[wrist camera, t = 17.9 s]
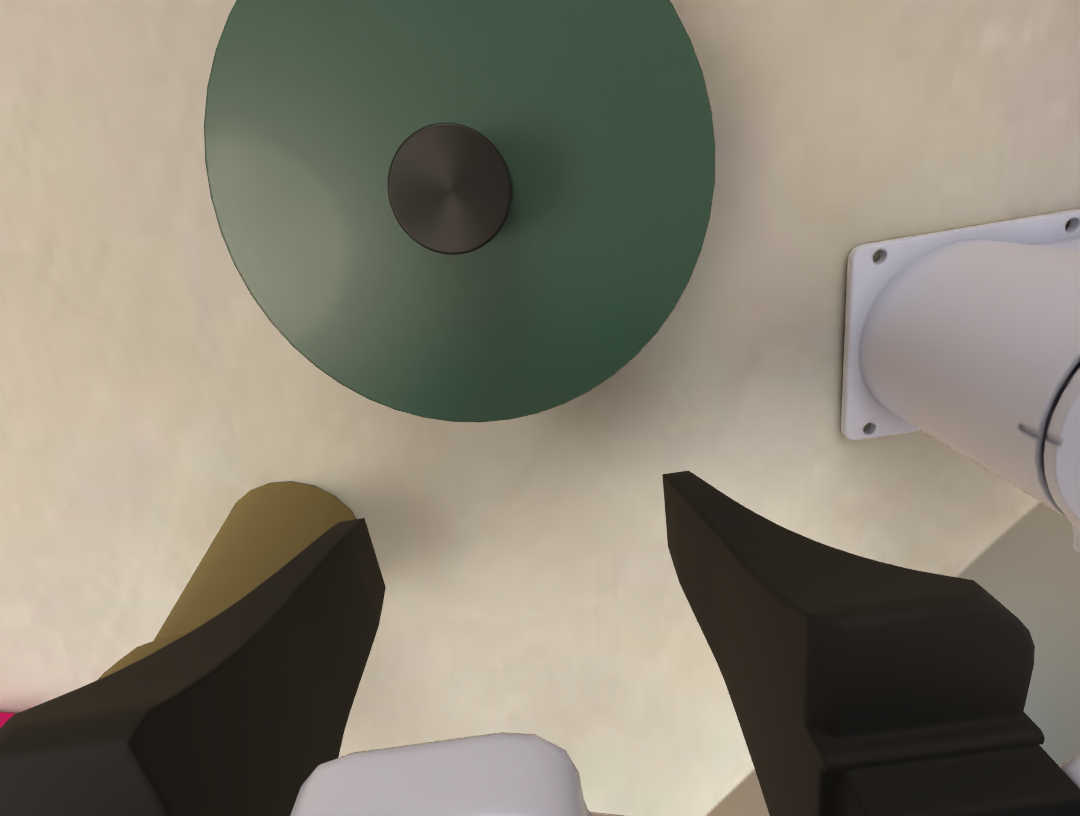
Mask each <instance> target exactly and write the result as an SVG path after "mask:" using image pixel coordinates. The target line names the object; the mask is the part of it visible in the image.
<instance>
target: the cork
mask: <svg viewBox="0 0 1080 816" xmlns="http://www.w3.org/2000/svg"><path fill="white" fill-rule="evenodd" d="M355 519H356V518H355V516H354V515H353V513H352V511H351V510H350V509H349V508H348V507H346V506H345V505H344V504H343V503H342V502H341V501H340V500H339V499H337V498H336V497H335V496H333V495H331V494H329V493H327V492H325V491H323V490H321V489H319V488H317V487H315V486H311V485H306V484H301V483H296V482H280V483H269V484H266V485H264V486H261V487H259V488H256V489H254V490H251V491H249V492H248V493H247V494H246V495H245V496H244V497H243V498H241V499H240V500H239V501H238V502H237V503H236V504H235V505H234V507H233V509H232V510H231V512H230V514H229V515H228V517H227V519H226V521H225V522H224V524H223V526H222V527H221V529H220V531H219V532H218V534H217V536H216V537H215V539H214V541H213V542H212V544H211V546H210V547H209V549H208V551H207V552H206V554H205V556H204V557H203V559H202V561H201V562H200V564H199V566H198V567H197V569H196V571H195V572H194V574H193V576H192V577H191V579H190V581H189V582H188V584H187V586H186V587H185V589H184V591H183V593H182V594H181V596H180V598H179V599H178V601H177V603H176V604H175V606H174V608H173V609H172V611H171V613H170V614H169V616H168V618H167V619H166V621H165V623H164V624H163V626H162V628H161V629H160V631H159V633H158V634H157V636H156V638H155V639H154V641H153V642H150V643H147V644H145V645H142V646H139V647H137V648H136V649H134V650H133V651H131V652H130V653H129V654H127V655H126V656H124V657H123V658H122V659H120V660H119V661H118V662H117V663H116V664H114V665H113V666H112V667H111V668H110V669H108V670H107V671H106V672H105V673H104V674H103V675H102V676H101V677H100V678H99V679H101V678H103V677H105V676H108V675H110V674H112V673H114V672H116V671H118V670H120V669H122V668H124V667H126V666H128V665H130V664H132V663H134V662H136V661H138V660H140V659H142V658H144V657H146V656H148V655H150V654H152V653H154V652H156V651H157V650H159V649H161V648H163V647H164V646H166V645H168V644H170V643H172V642H173V641H175V640H177V639H179V638H180V637H182V636H184V635H186V634H188V633H189V632H191V631H193V630H194V629H196V628H198V627H199V626H201V625H203V624H204V623H206V622H207V621H209V620H210V619H212V618H213V617H215V616H217V615H218V614H220V613H221V612H223V611H224V610H226V609H227V608H229V607H230V606H232V605H233V604H235V603H236V602H237V601H239V600H240V599H242V598H243V597H244V596H246V595H247V594H248V593H250V592H251V591H252V590H253V589H255V588H256V587H257V586H259V585H260V584H261V583H263V582H264V581H265V580H267V579H268V578H269V577H271V576H272V575H273V574H274V573H276V572H277V571H278V570H280V569H281V568H282V567H283V566H284V565H286V564H287V563H288V562H289V561H291V560H292V559H293V558H294V557H295V556H297V555H298V554H299V553H300V552H301V551H303V550H304V549H305V548H306V547H307V546H309V545H310V544H311V543H312V542H314V541H315V540H316V539H317V538H318V537H320V536H321V535H322V534H323V533H325V532H326V531H327V530H329V529H330V528H331V527H333V526H334V525H336V524H337V523H339V522H342V521H348V520H355ZM99 679H98V680H99Z"/></svg>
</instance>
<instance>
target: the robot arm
mask: <svg viewBox="0 0 1080 816" xmlns="http://www.w3.org/2000/svg"><path fill="white" fill-rule="evenodd" d="M1069 220H1070V225H1069V227H1068V228H1067V229H1066V230H1065V225H1066V223H1067V222H1068V221H1069ZM877 250H880V253H881V256H880V258H879V259H878V261H876V262H873V255H874V253H875V252H876V251H877ZM868 423H870V427H869V428H868V429H867V430H864V431H863V428H864V426H865V425H866V424H868ZM917 431H924V432H926V433H927V434H929V435H931V436H932V437H934V438H936V439H937V440H939V441H941V442H942V443H944V444H945V445H947V446H949V447H950V448H952V449H954V450H955V451H957V452H959V453H960V454H962V455H964V456H965V457H967V458H969V459H970V460H972V461H974V462H975V463H977V464H979V465H980V466H982V467H984V468H985V469H987V470H988V471H990V472H992V473H993V474H995V475H997V476H998V477H1000V478H1002V479H1003V480H1005V481H1007V482H1008V483H1010V484H1012V485H1013V486H1015V487H1017V488H1018V489H1020V490H1022V491H1023V492H1025V493H1027V494H1028V495H1030V496H1032V497H1033V498H1035V499H1036V500H1038V501H1040V502H1041V503H1043V504H1045V505H1046V506H1048V507H1050V508H1051V509H1053V510H1055V511H1056V512H1058V513H1060V514H1061V515H1063V516H1065V517H1066V518H1068V519H1069V521H1070V523H1071V525H1072V528H1073V534H1074V538H1073V545H1072V548H1073V549H1074V550H1075V551H1077V552H1078V553H1080V208H1079V209H1073V210H1067V211H1061V212H1054V213H1048V214H1042V215H1036V216H1030V217H1024V218H1018V219H1012V220H1006V221H1000V222H994V223H988V224H981V225H975V226H969V227H963V228H957V229H951V230H945V231H939V232H933V233H927V234H921V235H915V236H908V237H902V238H896V239H890V240H884V241H878V242H872V243H866V244H861V245H858V246H856V247H855V248H854V249H852V251H851V252H850V254H849V256H848V264H847V289H846V314H845V338H844V363H843V388H842V413H841V433H842V434H843V436H844V437H846V438H847V439H849V440H851V441H859V440H866V439H872V438H878V437H885V436H891V435H898V434H904V433H911V432H917ZM663 487H664V499H665V512H666V525H667V537H668V548H669V551H670V554H671V557H672V561H673V564H674V567H675V570H676V573H677V576H678V579H679V582H680V584H681V587H682V589H683V591H684V593H685V595H686V598H687V600H688V602H689V604H690V606H691V608H692V610H693V613H694V615H695V617H696V619H697V621H698V623H699V625H700V627H701V629H702V631H703V634H704V636H705V638H706V640H707V642H708V644H709V646H710V648H711V650H712V653H713V655H714V657H715V659H716V661H717V663H718V666H719V668H720V671H721V673H722V675H723V678H724V680H725V683H726V686H727V689H728V692H729V694H730V697H731V700H732V703H733V706H734V709H735V711H736V714H737V717H738V720H739V723H740V726H741V729H742V732H743V735H744V738H745V741H746V744H747V747H748V750H749V753H750V756H751V759H752V762H753V765H754V768H755V771H756V774H757V777H758V780H759V783H760V786H761V789H762V793H763V796H764V799H765V802H766V805H767V808H768V811H769V814H770V816H1080V755H1078V756H1074V757H1072V758H1071V759H1069V760H1068V761H1066V762H1065V763H1063V765H1062V766H1061V768H1060V767H1059V766H1058V765H1057V764H1056V763H1055V762H1054V760H1053V759H1052V758H1051V757H1050V756H1049V755H1048V754H1047V753H1046V752H1045V751H1044V750H1043V749H1042V748H1041V747H1040V746H1039V744H1043V742H1044V735H1043V733H1042V731H1041V730H1040V728H1039V727H1038V726H1037V725H1036V724H1035V723H1034V722H1033V721H1032V720H1031V719H1030V718H1029V717H1028V716H1027V715H1026V714H1025V713H1024V712H1023V710H1024V706H1025V701H1026V697H1027V693H1028V688H1029V684H1030V679H1031V675H1032V670H1033V665H1034V648H1035V646H1034V643H1033V640H1032V638H1031V635H1030V632H1029V630H1028V629H1027V628H1026V627H1025V626H1024V625H1023V623H1022V622H1021V621H1020V620H1019V619H1018V618H1017V617H1016V616H1015V615H1013V614H1012V613H1011V612H1010V611H1009V610H1008V609H1006V608H1005V607H1004V606H1003V605H1002V604H1001V603H1000V602H999V601H997V600H996V599H995V598H994V597H993V596H992V595H990V594H989V593H988V592H987V591H986V590H985V589H983V588H982V587H981V586H980V585H978V584H977V583H976V582H975V581H973V580H967V579H962V578H956V577H951V576H945V575H939V574H933V573H927V572H922V571H916V570H911V569H907V568H903V567H899V566H894V565H890V564H886V563H882V562H878V561H874V560H871V559H867V558H864V557H860V556H857V555H854V554H851V553H848V552H845V551H842V550H839V549H836V548H833V547H829V546H827V545H824V544H821V543H819V542H816V541H813V540H811V539H809V538H806V537H804V536H802V535H799V534H797V533H795V532H792V531H790V530H788V529H786V528H783V527H781V526H779V525H777V524H775V523H773V522H771V521H769V520H768V519H766V518H764V517H762V516H760V515H758V514H756V513H754V512H753V511H751V510H749V509H747V508H746V507H744V506H742V505H741V504H739V503H737V502H736V501H734V500H733V499H731V498H729V497H728V496H726V495H725V494H723V493H721V492H720V491H718V490H717V489H715V488H714V487H712V486H711V485H709V484H708V483H706V482H705V481H703V480H702V479H700V478H699V477H697V476H696V475H694V474H693V473H691V472H690V471H683V472H676V473H669V474H663ZM384 593H385V584H384V581H383V577H382V574H381V571H380V568H379V564H378V561H377V558H376V555H375V551H374V548H373V545H372V542H371V538H370V535H369V532H368V528H367V525H366V522H365V519H364V518H362V519H355V520H348V521H342V522H339V523H337V524H336V525H334V526H333V527H331V528H330V529H329V530H327V531H326V532H325V533H323V534H322V535H321V536H320V537H318V538H317V539H316V540H315V541H314V542H312V543H311V544H310V545H309V546H307V547H306V548H305V549H304V550H303V551H301V552H300V553H299V554H298V555H297V556H295V557H294V558H293V559H292V560H291V561H289V562H288V563H287V564H286V565H284V566H283V567H282V568H281V569H280V570H278V571H277V572H276V573H274V574H273V575H272V576H271V577H269V578H268V579H267V580H265V581H264V582H263V583H261V584H260V585H259V586H257V587H256V588H255V589H253V590H252V591H251V592H250V593H248V594H247V595H246V596H244V597H243V598H242V599H240V600H239V601H237V602H236V603H235V604H233V605H232V606H230V607H229V608H227V609H226V610H224V611H223V612H221V613H220V614H218V615H217V616H215V617H213V618H212V619H210V620H209V621H207V622H206V623H204V624H203V625H201V626H199V627H198V628H196V629H194V630H193V631H191V632H189V633H188V634H186V635H184V636H182V637H180V638H179V639H177V640H175V641H173V642H172V643H170V644H168V645H166V646H164V647H163V648H161V649H159V650H157V651H156V652H154V653H152V654H150V655H148V656H146V657H144V658H142V659H140V660H138V661H136V662H134V663H132V664H130V665H128V666H126V667H124V668H122V669H120V670H118V671H116V672H114V673H112V674H110V675H108V676H105V677H103V678H101V679H99V680H97V681H95V682H93V683H90V684H88V685H86V686H84V687H81V688H79V689H77V690H74V691H72V692H69V693H67V694H64V695H62V696H59V697H57V698H55V699H52V700H50V701H47V702H45V703H42V704H40V705H37V706H35V707H33V708H30V709H28V710H25V711H22V712H20V713H17V714H14V715H13V716H12V717H10V718H9V719H8V720H7V721H6V723H5V724H4V725H3V726H2V727H1V728H0V816H623V815H614V814H605V813H595V812H589V810H588V809H587V806H586V804H585V801H584V799H583V793H582V787H581V782H580V776H579V772H578V770H577V769H576V767H575V765H574V764H573V762H572V760H571V759H570V757H569V755H568V754H567V752H566V750H564V749H562V748H560V747H558V746H556V745H554V744H552V743H550V742H549V741H547V740H545V739H543V738H541V737H539V736H537V735H535V734H521V733H503V732H502V733H494V734H487V735H480V736H472V737H465V738H457V739H450V740H443V741H435V742H428V743H421V744H413V745H406V746H398V747H391V748H384V749H376V750H369V751H362V752H354V753H351V754H348V755H345V756H343V757H340V758H338V756H339V752H340V747H341V743H342V738H343V734H344V730H345V727H346V723H347V720H348V716H349V713H350V710H351V707H352V704H353V701H354V698H355V695H356V692H357V689H358V686H359V683H360V680H361V677H362V674H363V671H364V668H365V665H366V662H367V660H368V657H369V654H370V650H371V647H372V644H373V641H374V638H375V635H376V632H377V629H378V626H379V621H380V616H381V611H382V605H383V599H384Z"/></svg>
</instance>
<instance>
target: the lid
mask: <svg viewBox="0 0 1080 816" xmlns="http://www.w3.org/2000/svg"><path fill="white" fill-rule="evenodd" d="M204 135H205V162H206V168H207V174H208V181H209V187H210V193H211V199H212V202H213V206H214V209H215V213H216V216H217V220H218V223H219V227H220V230H221V233H222V236H223V238H224V240H225V243H226V245H227V248H228V250H229V253H230V255H231V257H232V260H233V262H234V265H235V266H236V268H237V270H238V272H239V274H240V275H241V277H242V279H243V281H244V282H245V284H246V286H247V288H248V290H249V291H250V293H251V295H252V296H253V298H254V299H255V300H256V302H257V303H258V305H259V306H260V307H261V309H262V310H263V312H264V313H265V314H266V316H267V317H268V319H269V320H270V321H271V323H272V324H273V325H274V326H275V327H276V328H277V329H278V330H279V331H280V333H281V334H282V335H283V336H284V337H285V338H286V339H287V340H288V341H289V342H290V344H291V345H292V346H293V347H294V348H296V349H297V350H298V351H299V352H300V353H301V354H302V355H304V356H305V357H306V358H307V359H308V360H309V361H310V362H311V363H313V364H314V365H315V366H316V367H317V368H319V369H320V370H322V371H323V372H325V373H326V374H327V375H329V376H330V377H332V378H333V379H335V380H336V381H337V382H339V383H340V384H342V385H344V386H345V387H347V388H349V389H351V390H353V391H355V392H357V393H358V394H360V395H362V396H364V397H366V398H368V399H370V400H372V401H375V402H377V403H380V404H383V405H385V406H388V407H390V408H393V409H395V410H398V411H402V412H406V413H410V414H413V415H417V416H421V417H425V418H432V419H439V420H445V421H452V422H489V421H499V420H509V419H514V418H518V417H523V416H527V415H532V414H536V413H539V412H542V411H545V410H548V409H551V408H553V407H556V406H559V405H562V404H564V403H566V402H568V401H570V400H572V399H574V398H576V397H578V396H580V395H582V394H584V393H586V392H588V391H590V390H592V389H593V388H595V387H596V386H598V385H599V384H601V383H602V382H604V381H605V380H607V379H608V378H610V377H611V376H613V375H614V374H615V373H616V372H618V371H619V370H620V369H621V368H622V367H623V366H625V365H626V364H627V363H628V362H629V361H630V360H632V359H633V358H634V357H635V356H636V355H637V354H638V353H639V352H640V351H641V350H642V348H643V347H644V346H645V345H646V344H647V343H648V342H649V341H650V340H651V339H652V338H653V336H654V335H655V334H656V333H657V332H658V330H659V329H660V327H661V326H662V325H663V323H664V322H665V320H666V319H667V318H668V316H669V315H670V313H671V312H672V311H673V309H674V307H675V306H676V304H677V302H678V300H679V298H680V296H681V295H682V293H683V291H684V289H685V287H686V285H687V284H688V282H689V280H690V277H691V275H692V272H693V270H694V267H695V265H696V262H697V259H698V257H699V254H700V252H701V249H702V245H703V241H704V238H705V234H706V230H707V226H708V223H709V219H710V212H711V205H712V198H713V191H714V184H715V141H714V131H713V121H712V112H711V107H710V103H709V98H708V94H707V90H706V85H705V81H704V76H703V73H702V70H701V68H700V65H699V62H698V59H697V57H696V54H695V51H694V48H693V46H692V43H691V40H690V38H689V36H688V34H687V32H686V30H685V28H684V26H683V24H682V22H681V20H680V18H679V16H678V15H677V13H676V11H675V9H674V7H673V5H672V3H671V2H670V0H237V1H236V3H235V5H234V6H233V8H232V10H231V12H230V14H229V16H228V19H227V22H226V24H225V27H224V30H223V32H222V35H221V38H220V40H219V43H218V46H217V48H216V52H215V56H214V61H213V65H212V69H211V74H210V78H209V83H208V87H207V98H206V110H205V121H204Z"/></svg>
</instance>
